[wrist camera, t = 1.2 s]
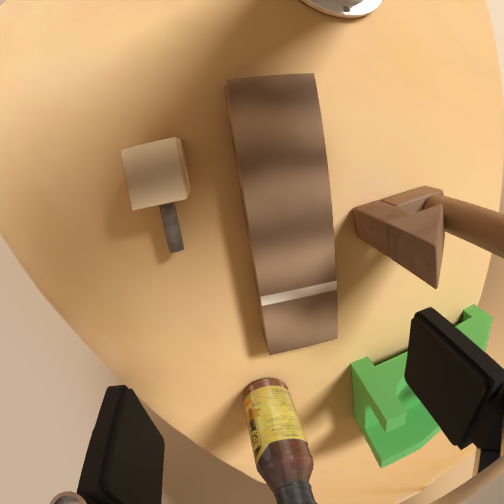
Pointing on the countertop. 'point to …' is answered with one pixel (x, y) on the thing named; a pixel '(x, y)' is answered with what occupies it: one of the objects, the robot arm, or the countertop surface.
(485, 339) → the green cradle stand
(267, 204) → the walnut board
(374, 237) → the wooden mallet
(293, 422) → the sauce bottle
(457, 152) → the countertop surface
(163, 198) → the block
